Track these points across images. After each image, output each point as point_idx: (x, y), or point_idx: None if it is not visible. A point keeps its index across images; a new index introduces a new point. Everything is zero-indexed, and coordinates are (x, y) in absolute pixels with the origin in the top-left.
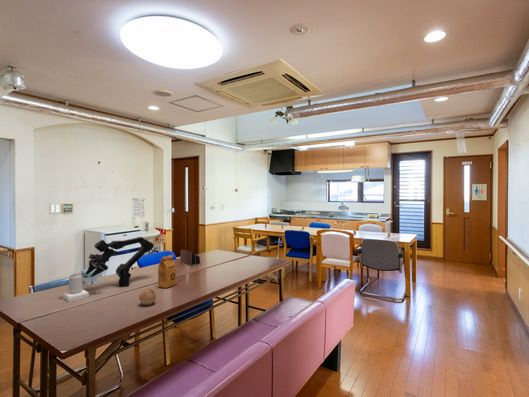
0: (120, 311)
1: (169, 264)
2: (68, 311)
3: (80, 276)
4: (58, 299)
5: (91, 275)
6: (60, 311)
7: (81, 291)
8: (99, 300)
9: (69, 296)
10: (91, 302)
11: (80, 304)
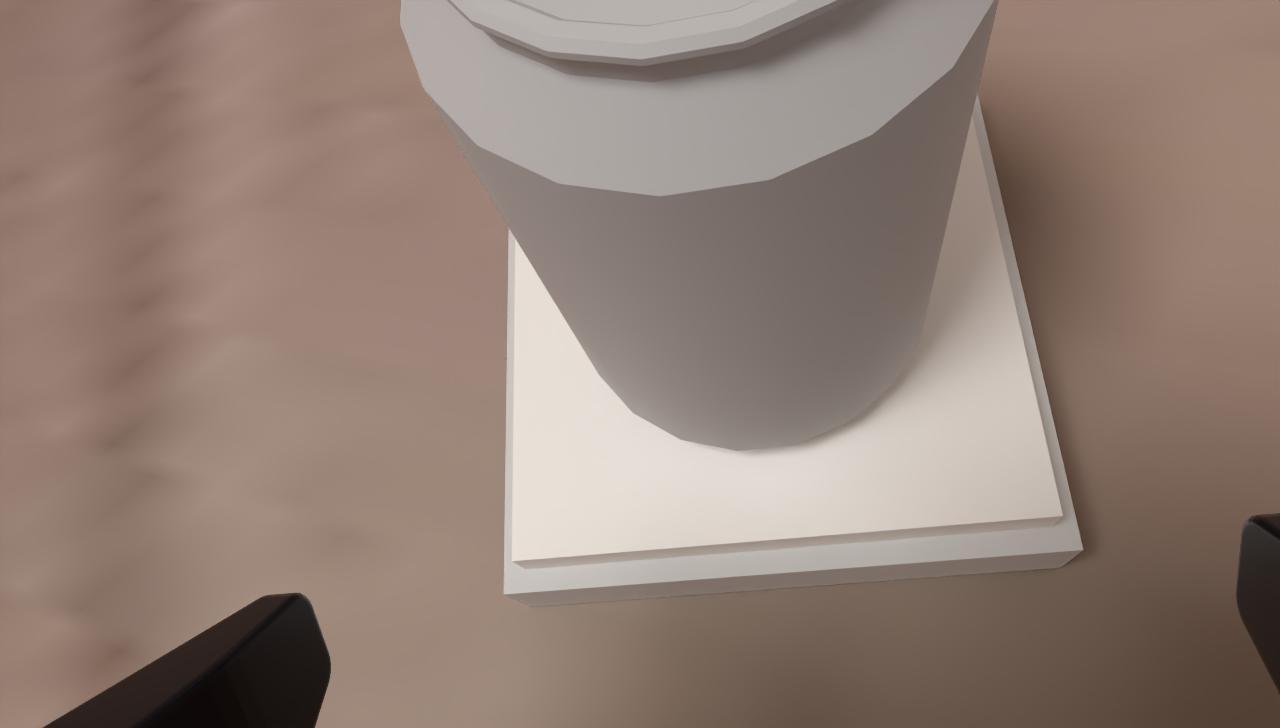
0: None
1: None
2: (27, 122)
3: (442, 78)
4: None
5: (253, 606)
6: (135, 39)
7: None
8: (49, 690)
9: None
10: (87, 512)
11: (170, 322)
